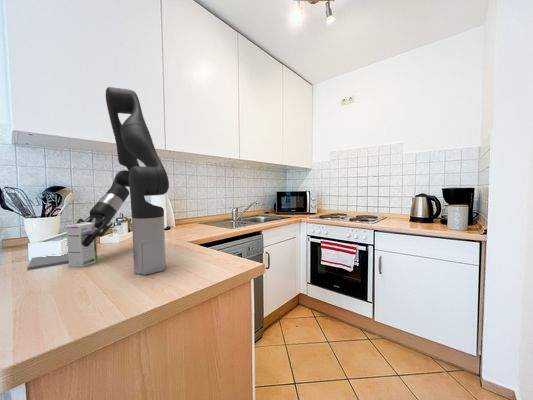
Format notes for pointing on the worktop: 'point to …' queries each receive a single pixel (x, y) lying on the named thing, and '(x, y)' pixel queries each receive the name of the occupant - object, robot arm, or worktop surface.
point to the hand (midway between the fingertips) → (77, 245)
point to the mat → (48, 261)
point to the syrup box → (80, 245)
